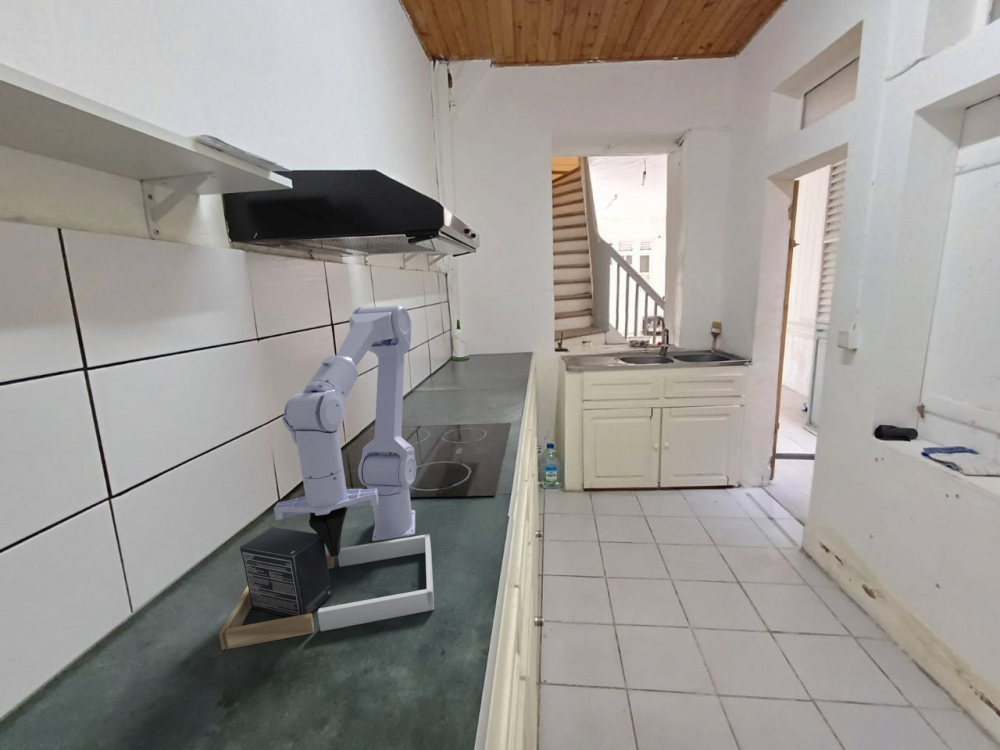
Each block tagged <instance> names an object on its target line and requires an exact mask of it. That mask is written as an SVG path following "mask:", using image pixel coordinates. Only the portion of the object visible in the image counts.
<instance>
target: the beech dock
mask: <svg viewBox="0 0 1000 750" xmlns="http://www.w3.org/2000/svg"><path fill="white" fill-rule="evenodd" d="M326 558H327V564H328V570H329V569H334V567H335V560H334V557H331V556H330V554H329V552H326ZM251 609H252V608H251V601H250V594H249V588H248V585H247V586H246V588H245V589H244V591H243V593H242V595H241V596H240V598H239V600H238V601H237V602H236V605H235V606H234V608H233V609H232V611H231V613H230V615H229V617H228V618H227V620H226V621H225V623H224V625H223V627H222V628H221V630H220V632H219V633H218V637H219V642H220V647H221V651H226V650H230V649H231V648H232V649H237V648H241V647H247V646H251V645H252V646H253V645H257V644H263V643H267V642H272V641H273V642H274V641H277V640H283V639H287V638H288V639H289V638H293V637H297V636H304V635H309V634H313V633H314V632H315V625H314V624H315V623H314V618H313V617H314V616H313V613H310V614H304V615H299V616H293V617H284V618H277V619H273V620H267V621H262V622H257V623H250V624H246V625H243V623H244V622H245V620H246V619H247V616H248V614H249V612H250V611H251ZM224 649H225V650H224Z"/></svg>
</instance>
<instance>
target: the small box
mask: <svg viewBox="0 0 1000 750" xmlns="http://www.w3.org/2000/svg"><path fill="white" fill-rule="evenodd" d="M239 550H240V553H241V558H242V561H243V566H244V572H245V578H246V582H247V583H246V584H247V586H248V588H249V594H250V601H251V609H253V610H255V611H256V610H257V611H261V612H265V613H269V614H273V615H276V616H280V617H284V618H288V617H293V616H299V615H304V614H310V613H312V614H313V613H314V612H315V611H316V610H317V609H319V607H320V606H322V604H323V603H324V602H326V601H327V599H328V598H330V597H331V596H332V594H333V591H332V585H331V579H330V573H329V572H330V571H329V569H328V564H327V558H326V553H327V552H326V545H325V543H324V542H323V540H322V539H321V537H320V536H319V535H318V534H317V533H316V532H311V531H310V532H309V531H302V530H296V529H288V528H282V527H276V526H273V527H272V526H271V527H270V528H269V529H267V530H266V531H264V532H261V533H260V534H259V535H258V536H256V537H254V538H253V539H251V540H249V541H247V542H246V543H244V544H243V545H241V546H240V547H239Z"/></svg>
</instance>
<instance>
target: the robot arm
mask: <svg viewBox="0 0 1000 750" xmlns="http://www.w3.org/2000/svg"><path fill="white" fill-rule="evenodd" d="M349 329H350V330H349V332H348V333H347V336H346V337H345V339H344V341H343V343H342V345H341V346H340V347H339V350H338V352H337V354H336V355H330V356H327V357H325V358H323V359H322V362H321V364H320V366H319V368H318V369H317V371H316V372H315V374H314V375H313V377H312V378H311V379H310V380H309V382H308V384H307V385H306V386H305V388H304V389H303V391H302V392H298V393H294V394H293V396H291V397H290V398H288V400H287V402H286V403H285V405H284V411H283V416H282V422H283V425H284V426H285V428H286V429H287V430H288V431H289V432H290V434H291V439H292V442H294V444H296V445H297V446H296V447H297V452H298V458H299V459H298V460H299V463H300V464H299V465H300V471H301V475H302V482H303V489H304V493H305V494H304V496H298V497H295V498H293V499H289V500H285V501H283V500H282V501H279V502H277V503H276V505H275V506H274V507H273V512H274V516H275V520H276V521H280V520H284V519H285V518H288V517H294V516H299V515H306V514H309V520H308V524H309V527H310V528H311V529H312V530H313V531H314V532H315V533H317V534H318V535H319V536H320V537H321V539H322V540H323V542H324V545H325V548H326V549H327V552H328V553H329V554H330V556H331V557H333V558H335V557H338V555H339V552H340V549H341V548H342V547H341V539H342V538H341V537H342V532H343V531H342V530H343V526H344V522H345V518H346V515H347V511H348V509H349V508H354V507H362V506H368V505H369V506H370V507H372V509H373V517H374V523H375V524H374V529H373V532H372V539H371V541H372V542H382V541H388V540H394V539H400V538H407V537H413V536H414V535H416V510H415V509H412V502H411V495H410V486H412V484H413V483H414V481H415V480H416V475H417V462H416V456H415V447H414V446H413V445H411V444H410V443H409V442H408V441H407V440H406V439H404V438H403V437H402V429H403V427H402V426H403V425H402V424H403V403H404V401H403V400H404V378H405V376H404V374H405V355H406V354H405V353H407V352H408V351H410V350H411V342H412V340H411V339H412V320H411V317H410V314H409V312H408V309H406V307H405V306H404V305H402V304H396V305H389V306H374V307H373V306H371V307H355V309H354V310H353V312H352V314H351V315H350V317H349ZM367 352H370V353H373V354H375V356H376V357H377V361H378V362H377V377H376V378H377V379H376V380H377V381H376V383H377V384H376V398H375V399H376V400H375V401H376V402H375V419H374V423H375V424H374V425H375V426H374V437H373V439H372V440H370V441H369V442H368V443H367V444H365V446H364V447H362V454H361V459H360V462H359V465H358V467H357V468H358V470H357V472H358V479H359V481H360V483H361V484H362V485H363V486H365V487H366V488H367V489H365V488H363V489H362V488H361V489H360V488H359V489H357V488H349V489H348V488H347V485H346V477H345V470H344V463H343V462H344V461H343V455H342V449H341V442H340V441H341V440H340V435H339V434H340V433H339V427H340V426H341V425H342V424H343V422H344V418H345V409H346V407H347V406H346V405H347V401H348V400H347V397H348V395H349V393H350V392H351V390H352V389H353V386H354V385H355V384H356V381H357V380H358V377H359V371H358V368H357V365H359V363H360V362H361V360H362V359H363V358H364V357H365V356H366V354H367ZM387 453H388V454H387ZM389 453H391V454H389ZM392 453H393V454H392Z"/></svg>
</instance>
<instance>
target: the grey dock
mask: <svg viewBox="0 0 1000 750" xmlns="http://www.w3.org/2000/svg"><path fill="white" fill-rule="evenodd" d="M430 534H431V533H427V534H422V535H416V536H414V535H413V536H406V537H400V538H394V539H388V540H382V541H375V542H371V543H365V544H359V545H353V546H347V547H345V546H344V547H340V548H341V549H340V552H339V555H338V556H337V559H338V566H339V567H340V568H341V567H346V566H347V567H348V566H353V565H358V564H359V565H360V564H365V563H371V562H378V561H383V560H389V559H395V558H400V557H406V556H412V555H413V556H414V555H418V554H425V574H426V575H425V576H426V588H425V589H420V590H419V589H418V590H415V591H414V590H413V591H410V592H403V593H397V594H392V595H387V596H386V595H385V596H381V597H376V598H375V597H374V598H371V599H363V600H359V601H354V602H353V601H352V602H348V603H343V604H337V605H331V606H326V607H320V608H318V610H317V616H318V623H319V628H320V629H319V630H320V632H325V631H330V630H331V631H332V630H335V629H342V628H346V627H350V626H351V627H352V626H355V625H357V626H358V625H362V624H367V623H372V622H377V621H378V622H379V621H382V620H387V619H394V618H398V617H404V616H408V615H409V616H410V615H413V614H418V613H424V612H429V611H434V610H435V597H434V595H435V594H434V579H433V560H432V559H433V558H432V544H431V535H430Z"/></svg>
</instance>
